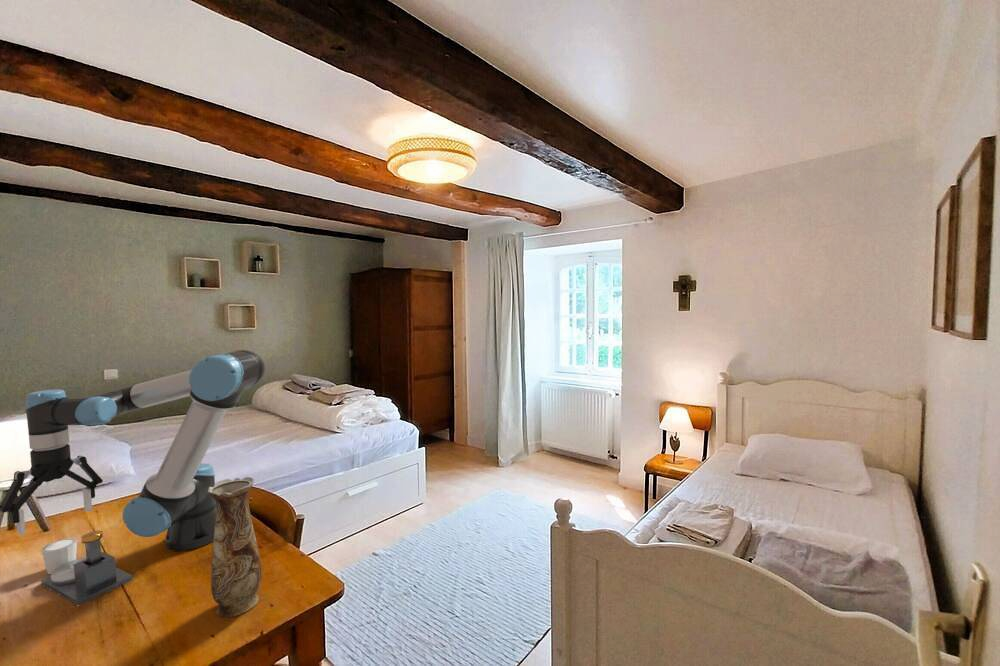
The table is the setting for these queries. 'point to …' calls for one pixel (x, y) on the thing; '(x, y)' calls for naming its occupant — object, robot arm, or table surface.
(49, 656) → the table surface
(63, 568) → the grey rounded flat piece
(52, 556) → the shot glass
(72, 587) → the slotted base stand
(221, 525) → the vase
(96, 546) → the gold capped peg
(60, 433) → the robot arm
